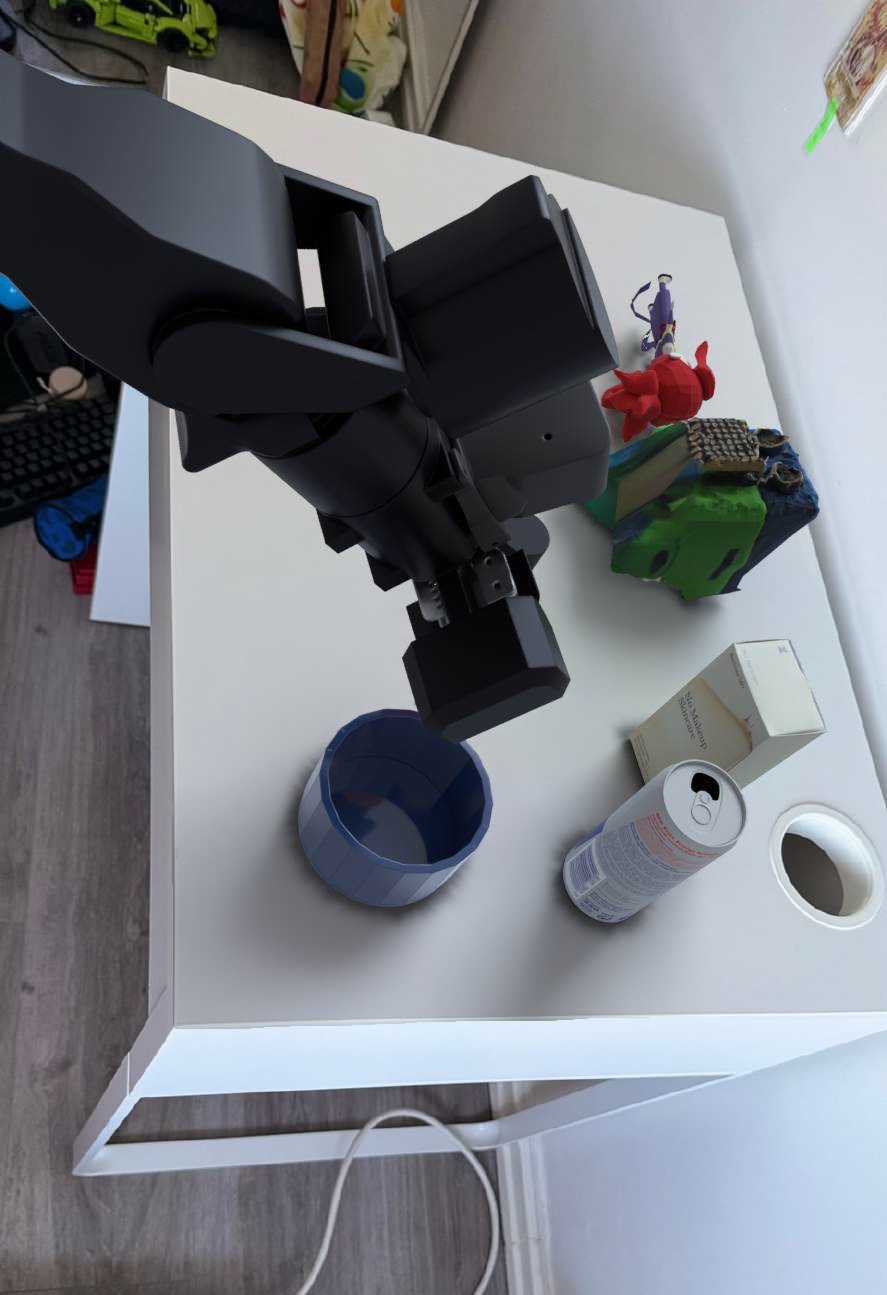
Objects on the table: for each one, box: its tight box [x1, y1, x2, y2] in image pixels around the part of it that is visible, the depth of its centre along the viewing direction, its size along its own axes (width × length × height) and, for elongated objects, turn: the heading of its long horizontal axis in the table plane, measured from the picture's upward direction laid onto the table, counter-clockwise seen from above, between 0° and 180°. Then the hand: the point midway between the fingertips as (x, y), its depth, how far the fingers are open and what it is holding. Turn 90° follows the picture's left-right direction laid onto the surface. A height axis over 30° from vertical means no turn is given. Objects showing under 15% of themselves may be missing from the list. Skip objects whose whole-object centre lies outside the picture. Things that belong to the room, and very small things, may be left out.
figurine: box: [600, 273, 716, 444], centre depth 84 cm, size 6×8×15 cm
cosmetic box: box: [629, 637, 828, 791], centre depth 66 cm, size 6×4×12 cm
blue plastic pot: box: [297, 708, 494, 908], centre depth 61 cm, size 10×10×6 cm
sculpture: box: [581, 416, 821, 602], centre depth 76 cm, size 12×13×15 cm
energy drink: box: [562, 759, 749, 923], centre depth 61 cm, size 5×5×12 cm
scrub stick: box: [496, 514, 551, 571], centre depth 55 cm, size 4×4×12 cm
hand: (506, 597), depth 56 cm, fingers closed on scrub stick, 2 cm apart
